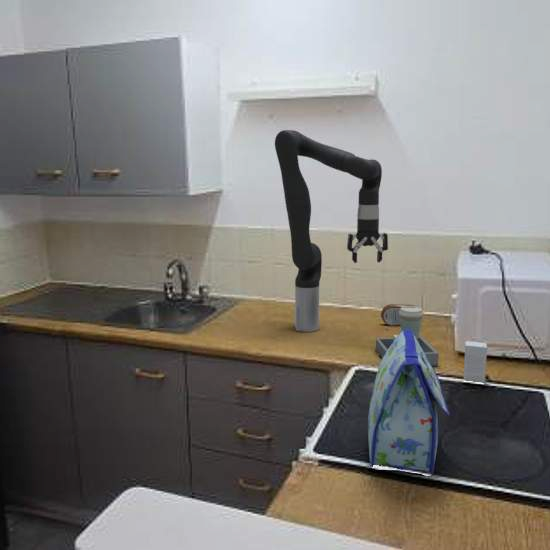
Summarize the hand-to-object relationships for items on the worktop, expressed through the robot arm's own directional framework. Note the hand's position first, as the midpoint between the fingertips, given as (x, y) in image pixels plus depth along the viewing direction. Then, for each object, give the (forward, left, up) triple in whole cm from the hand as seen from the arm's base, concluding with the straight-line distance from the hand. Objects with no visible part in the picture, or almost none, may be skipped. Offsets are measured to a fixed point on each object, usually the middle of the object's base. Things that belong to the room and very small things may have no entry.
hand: (367, 262), depth 199 cm
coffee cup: (+15, -6, -28) cm, 33 cm away
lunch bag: (-10, -79, -28) cm, 85 cm away
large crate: (+8, -23, -28) cm, 37 cm away
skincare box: (+22, -44, -28) cm, 57 cm away
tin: (+17, +12, -28) cm, 35 cm away
